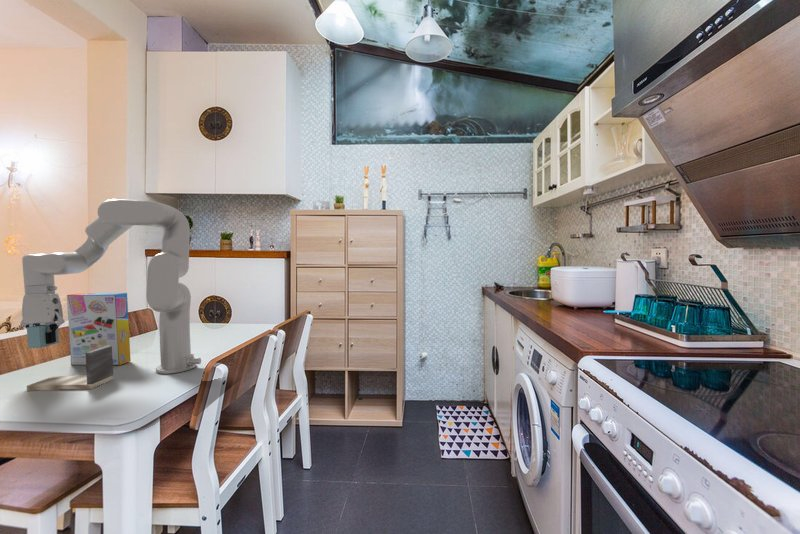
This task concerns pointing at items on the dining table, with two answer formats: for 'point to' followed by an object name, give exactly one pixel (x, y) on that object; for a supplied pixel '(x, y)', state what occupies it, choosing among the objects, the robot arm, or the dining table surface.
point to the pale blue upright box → (39, 336)
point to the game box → (98, 325)
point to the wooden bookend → (97, 374)
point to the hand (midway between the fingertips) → (44, 342)
